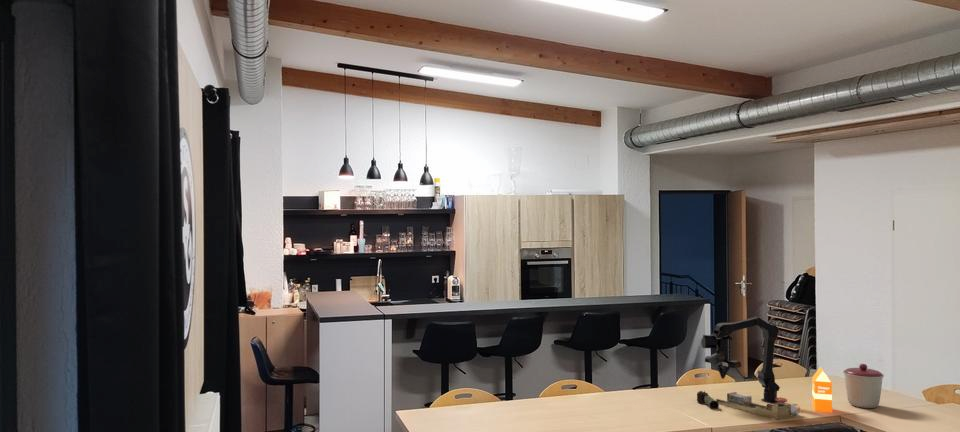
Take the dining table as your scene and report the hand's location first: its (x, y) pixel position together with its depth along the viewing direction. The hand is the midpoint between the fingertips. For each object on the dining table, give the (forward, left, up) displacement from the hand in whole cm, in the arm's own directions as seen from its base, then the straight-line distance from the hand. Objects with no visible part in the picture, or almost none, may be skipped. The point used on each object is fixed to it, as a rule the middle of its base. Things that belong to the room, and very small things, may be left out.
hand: (722, 378), depth 349 cm
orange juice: (-30, +35, -12) cm, 48 cm away
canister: (-54, +42, -12) cm, 69 cm away
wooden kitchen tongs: (-3, +18, -12) cm, 22 cm away
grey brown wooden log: (+11, -1, -12) cm, 17 cm away
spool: (0, +10, -12) cm, 16 cm away
